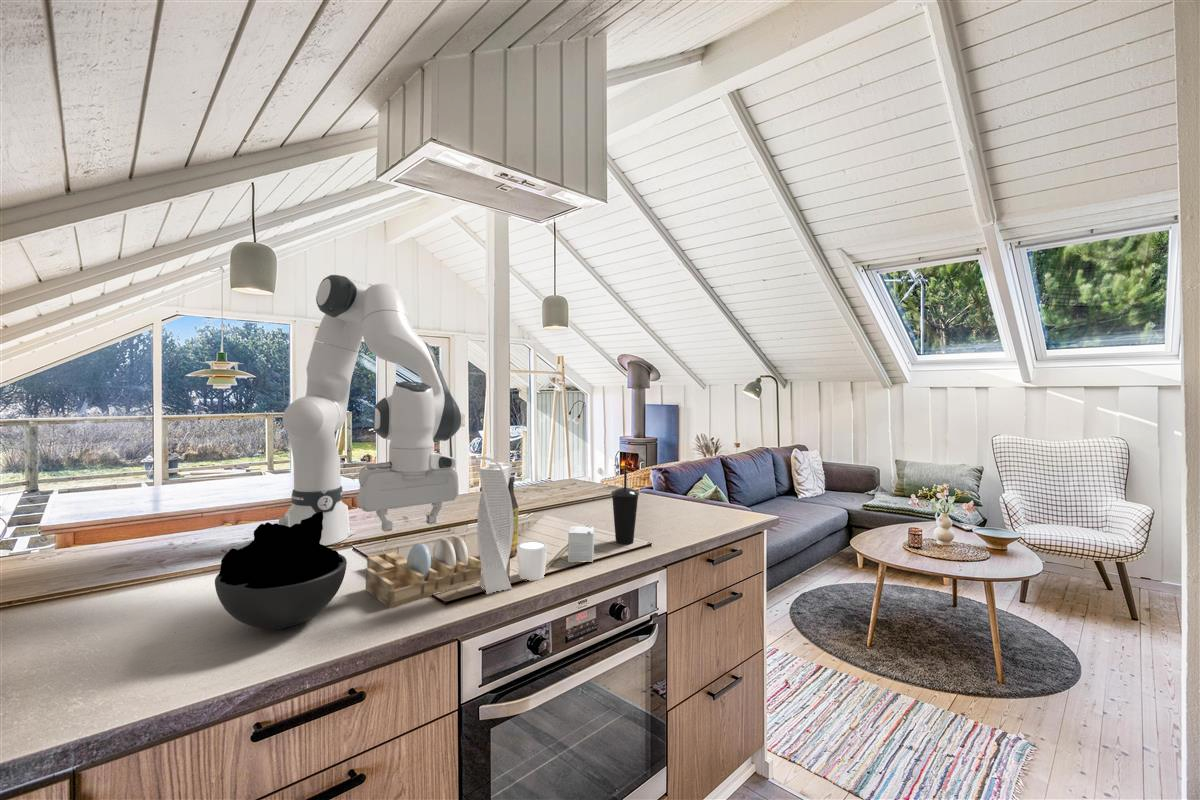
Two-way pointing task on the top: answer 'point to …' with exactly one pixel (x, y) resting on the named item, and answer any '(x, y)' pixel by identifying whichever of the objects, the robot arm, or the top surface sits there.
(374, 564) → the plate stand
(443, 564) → the dish rack
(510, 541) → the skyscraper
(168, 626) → the top surface
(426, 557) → the blue plate
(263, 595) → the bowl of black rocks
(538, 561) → the white cylinder
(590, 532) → the skincare box
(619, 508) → the drinking cup
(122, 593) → the top surface
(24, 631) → the top surface
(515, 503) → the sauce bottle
